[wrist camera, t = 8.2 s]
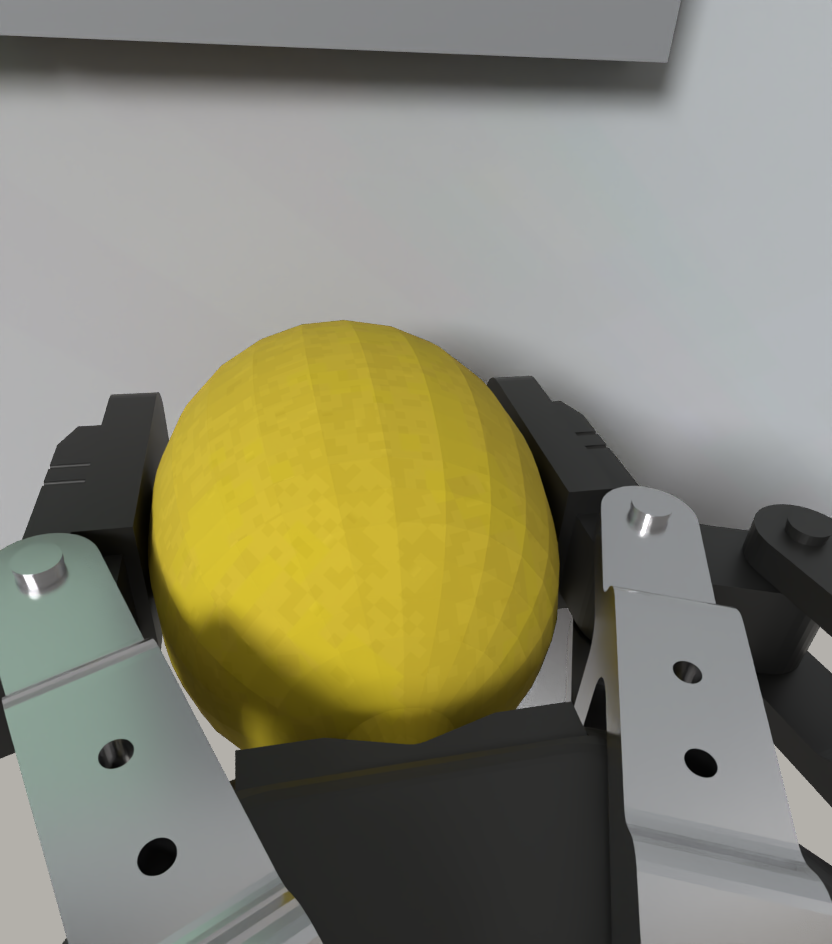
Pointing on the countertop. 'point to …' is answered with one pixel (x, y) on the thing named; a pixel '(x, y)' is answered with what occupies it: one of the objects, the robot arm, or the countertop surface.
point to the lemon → (350, 543)
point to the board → (369, 25)
